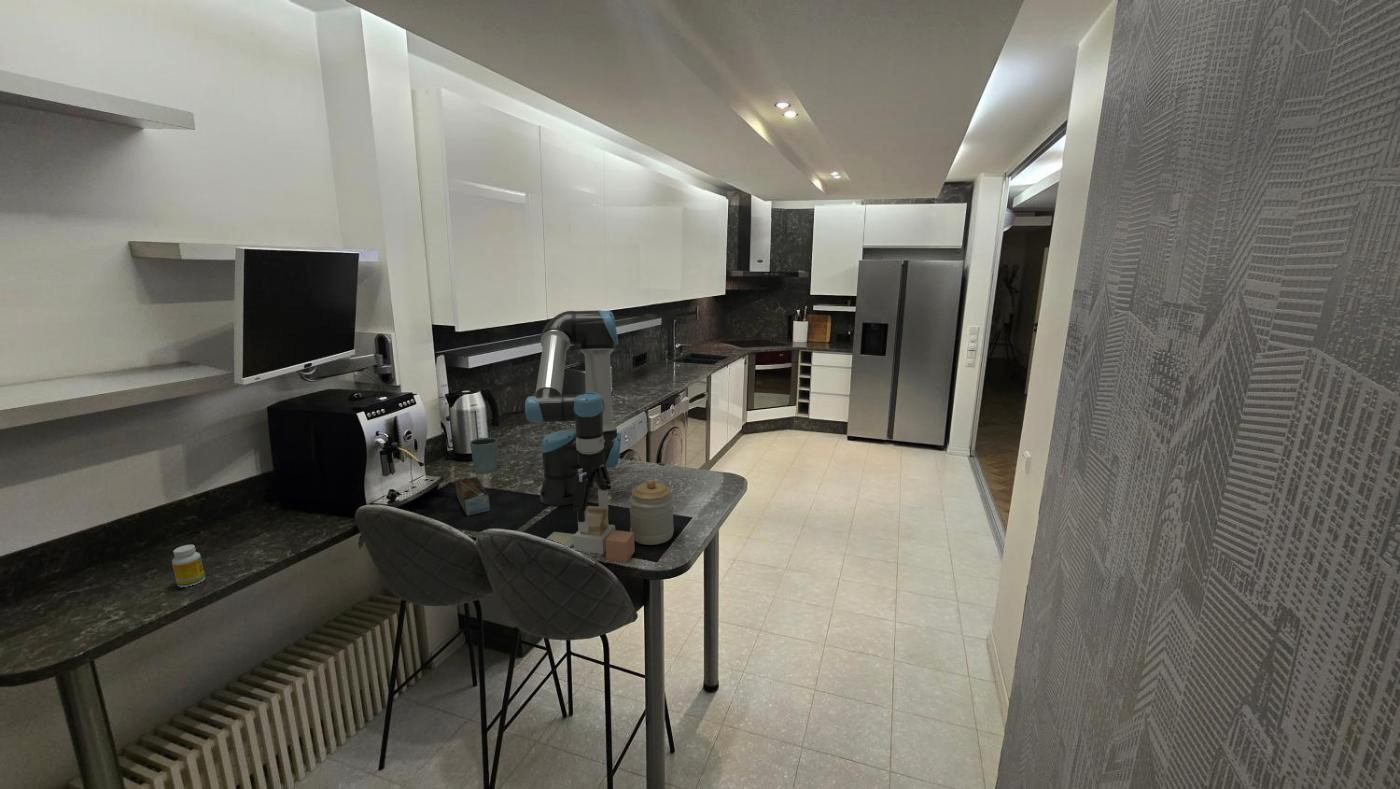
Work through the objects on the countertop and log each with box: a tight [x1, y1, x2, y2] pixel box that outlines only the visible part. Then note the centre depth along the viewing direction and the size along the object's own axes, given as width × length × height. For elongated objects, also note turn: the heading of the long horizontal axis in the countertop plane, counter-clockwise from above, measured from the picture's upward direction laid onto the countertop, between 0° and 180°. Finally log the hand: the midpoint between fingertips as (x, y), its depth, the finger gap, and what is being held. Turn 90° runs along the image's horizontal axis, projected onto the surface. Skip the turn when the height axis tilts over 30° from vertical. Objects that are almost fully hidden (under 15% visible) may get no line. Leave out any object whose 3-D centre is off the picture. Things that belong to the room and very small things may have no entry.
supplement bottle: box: [171, 544, 206, 588], centre depth 140 cm, size 5×5×10 cm
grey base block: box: [573, 523, 616, 555], centre depth 159 cm, size 9×9×4 cm
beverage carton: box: [454, 476, 491, 517], centre depth 188 cm, size 8×19×7 cm, turn 32°
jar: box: [628, 479, 675, 546], centre depth 164 cm, size 13×13×18 cm
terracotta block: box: [605, 529, 636, 563], centre depth 153 cm, size 6×6×6 cm
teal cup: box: [469, 437, 498, 475], centre depth 219 cm, size 10×10×12 cm
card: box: [546, 531, 575, 548], centre depth 161 cm, size 9×9×1 cm
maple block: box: [580, 505, 609, 536], centre depth 158 cm, size 6×6×6 cm
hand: (594, 520), depth 158 cm, fingers open, 13 cm apart
